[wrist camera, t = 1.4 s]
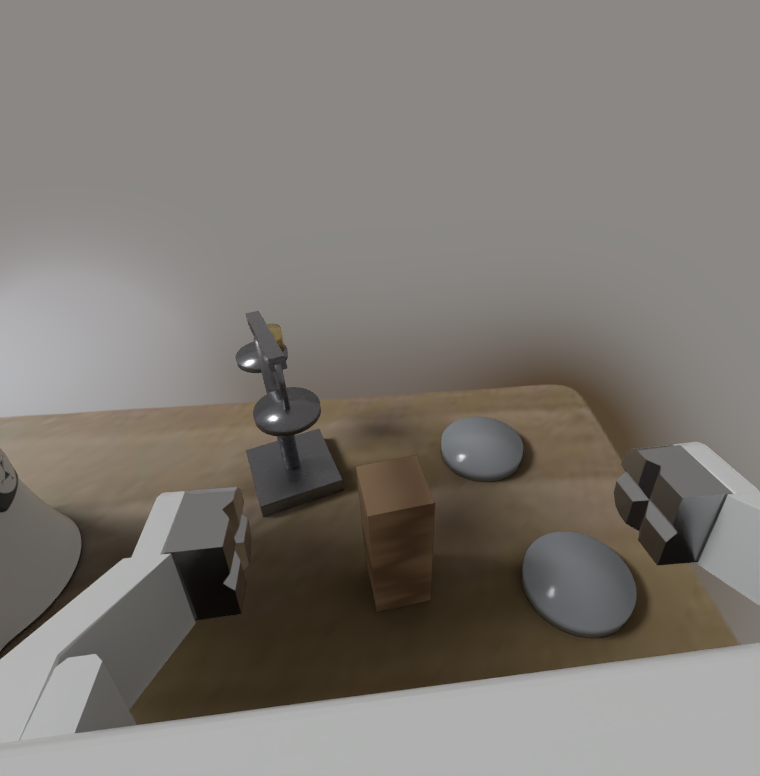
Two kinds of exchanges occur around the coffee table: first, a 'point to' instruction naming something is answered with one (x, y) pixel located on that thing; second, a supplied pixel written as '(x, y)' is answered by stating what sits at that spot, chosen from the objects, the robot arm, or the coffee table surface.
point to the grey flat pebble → (481, 449)
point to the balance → (285, 429)
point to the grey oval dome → (578, 584)
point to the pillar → (397, 531)
